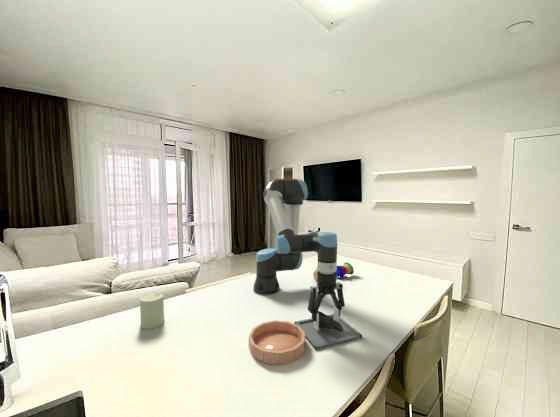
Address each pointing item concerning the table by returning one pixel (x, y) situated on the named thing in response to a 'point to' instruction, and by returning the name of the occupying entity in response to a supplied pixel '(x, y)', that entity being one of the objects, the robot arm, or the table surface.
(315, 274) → the stone
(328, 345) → the tray
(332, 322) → the stone
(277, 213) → the robot arm
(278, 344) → the bowl
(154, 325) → the can
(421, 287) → the table surface
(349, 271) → the toy figure
